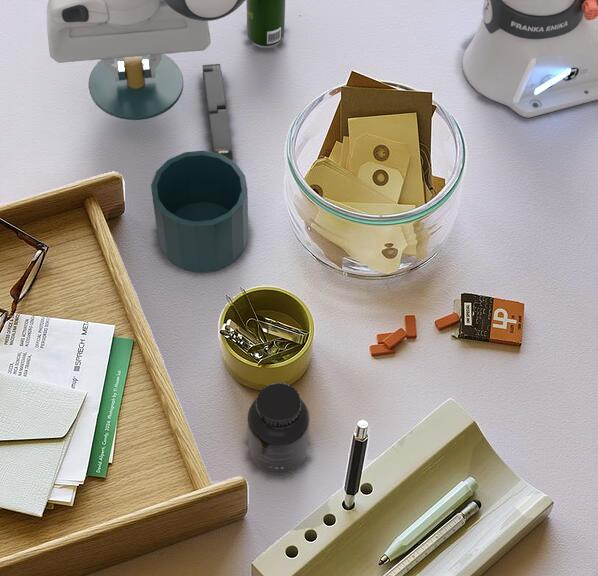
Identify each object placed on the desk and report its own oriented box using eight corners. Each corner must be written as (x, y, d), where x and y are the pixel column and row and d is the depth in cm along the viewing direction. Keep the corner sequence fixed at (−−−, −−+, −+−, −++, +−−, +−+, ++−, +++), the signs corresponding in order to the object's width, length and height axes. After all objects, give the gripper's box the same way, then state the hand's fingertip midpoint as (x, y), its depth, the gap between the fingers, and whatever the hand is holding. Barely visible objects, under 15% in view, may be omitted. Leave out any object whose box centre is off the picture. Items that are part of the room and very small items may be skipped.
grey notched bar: (202, 76, 147) (201, 59, 144) (220, 74, 147) (220, 58, 144) (214, 175, 139) (213, 160, 136) (234, 174, 139) (233, 159, 137)
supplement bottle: (249, 422, 123) (248, 371, 112) (308, 424, 123) (312, 373, 112) (246, 475, 120) (245, 428, 109) (306, 478, 120) (310, 431, 109)
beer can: (291, 39, 151) (294, -32, 140) (262, 55, 149) (262, -15, 138) (268, 17, 152) (269, -54, 142) (239, 33, 151) (237, -37, 140)
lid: (86, 58, 141) (80, 28, 136) (178, 50, 142) (175, 20, 138) (92, 127, 136) (87, 99, 131) (188, 119, 137) (186, 90, 132)
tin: (154, 205, 136) (147, 155, 128) (241, 196, 138) (240, 146, 129) (163, 277, 132) (156, 230, 123) (253, 267, 133) (252, 220, 124)
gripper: (206, -37, 127) (211, 51, 139) (36, -24, 125) (55, 64, 137) (212, -1, 124) (216, 86, 137) (38, 13, 122) (58, 100, 135)
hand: (134, 75), depth 137 cm, fingers closed on lid, 2 cm apart
